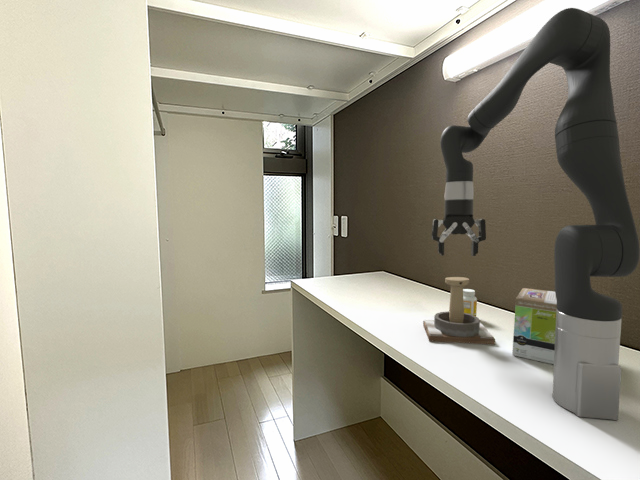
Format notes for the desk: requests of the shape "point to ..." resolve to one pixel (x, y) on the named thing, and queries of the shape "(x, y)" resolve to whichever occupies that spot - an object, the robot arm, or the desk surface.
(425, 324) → the ring socket base
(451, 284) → the handle
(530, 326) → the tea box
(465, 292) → the supplement bottle
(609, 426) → the desk surface
